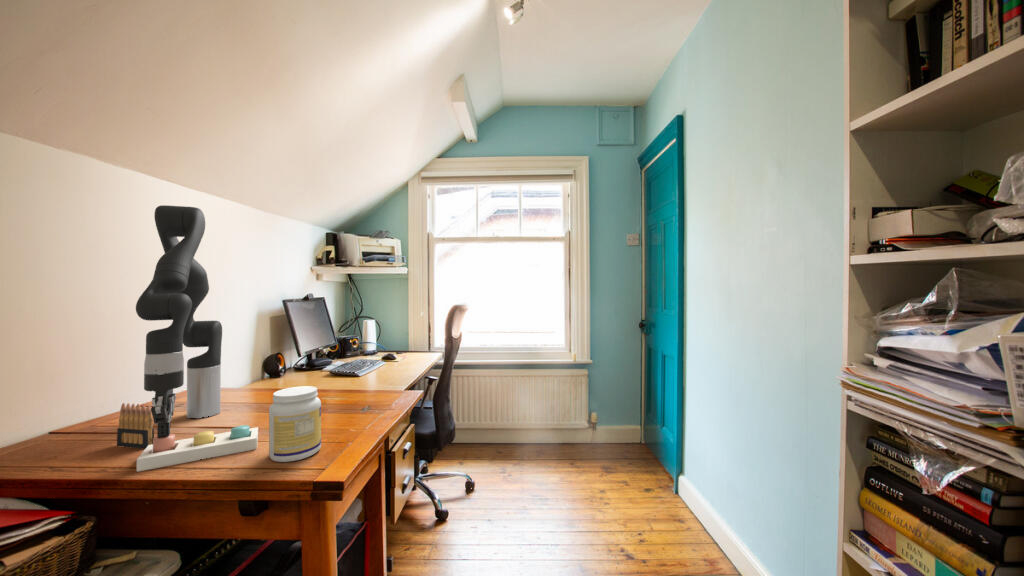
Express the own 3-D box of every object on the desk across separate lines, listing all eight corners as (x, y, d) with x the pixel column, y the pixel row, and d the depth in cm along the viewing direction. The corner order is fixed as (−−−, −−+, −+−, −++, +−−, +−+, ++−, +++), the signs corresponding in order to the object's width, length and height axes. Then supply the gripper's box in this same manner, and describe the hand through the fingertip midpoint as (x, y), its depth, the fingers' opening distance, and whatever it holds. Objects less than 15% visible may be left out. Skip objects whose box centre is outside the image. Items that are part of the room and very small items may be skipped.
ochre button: (195, 448, 101) (195, 432, 101) (214, 444, 104) (214, 429, 104) (192, 454, 98) (192, 438, 98) (212, 450, 100) (212, 434, 100)
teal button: (231, 441, 106) (231, 427, 106) (249, 438, 108) (249, 424, 108) (230, 447, 102) (230, 431, 102) (248, 443, 104) (249, 428, 104)
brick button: (155, 451, 97) (155, 435, 97) (176, 448, 99) (176, 432, 99) (150, 457, 93) (150, 441, 94) (173, 453, 96) (173, 437, 96)
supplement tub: (330, 450, 102) (330, 388, 102) (284, 468, 92) (285, 399, 92) (305, 440, 108) (305, 383, 109) (259, 457, 98) (259, 392, 98)
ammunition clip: (116, 446, 105) (116, 403, 105) (124, 443, 107) (124, 401, 107) (147, 449, 103) (147, 405, 103) (154, 446, 105) (154, 403, 105)
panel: (148, 456, 98) (148, 445, 98) (258, 437, 111) (258, 427, 111) (136, 471, 90) (136, 459, 90) (256, 449, 103) (256, 438, 103)
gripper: (151, 367, 100) (151, 432, 100) (136, 376, 89) (135, 449, 89) (188, 364, 104) (187, 426, 104) (178, 372, 93) (177, 442, 93)
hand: (163, 436), depth 96 cm, fingers closed
